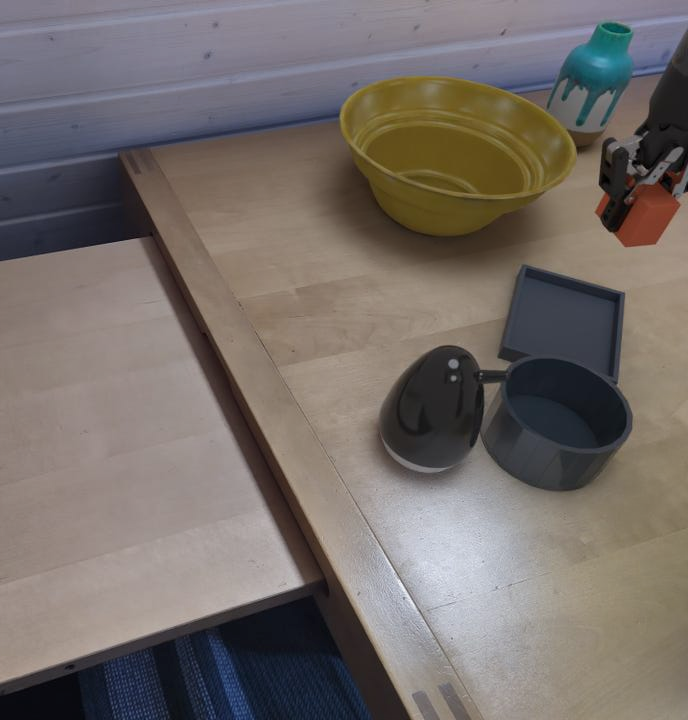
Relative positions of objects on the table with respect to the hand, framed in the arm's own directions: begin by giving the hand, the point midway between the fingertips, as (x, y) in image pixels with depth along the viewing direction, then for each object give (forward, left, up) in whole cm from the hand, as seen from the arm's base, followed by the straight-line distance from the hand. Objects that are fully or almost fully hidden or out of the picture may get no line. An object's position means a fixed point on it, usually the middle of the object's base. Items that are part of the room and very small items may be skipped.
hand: (626, 225), depth 74 cm
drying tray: (-3, -4, -19) cm, 20 cm away
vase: (-27, -47, -20) cm, 57 cm away
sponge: (0, 0, 0) cm, 0 cm away
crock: (+8, +12, -19) cm, 25 cm away
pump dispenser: (+22, +11, -20) cm, 32 cm away
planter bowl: (+4, -31, -20) cm, 37 cm away
